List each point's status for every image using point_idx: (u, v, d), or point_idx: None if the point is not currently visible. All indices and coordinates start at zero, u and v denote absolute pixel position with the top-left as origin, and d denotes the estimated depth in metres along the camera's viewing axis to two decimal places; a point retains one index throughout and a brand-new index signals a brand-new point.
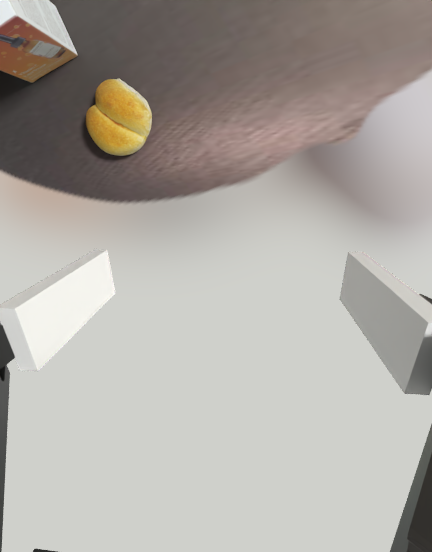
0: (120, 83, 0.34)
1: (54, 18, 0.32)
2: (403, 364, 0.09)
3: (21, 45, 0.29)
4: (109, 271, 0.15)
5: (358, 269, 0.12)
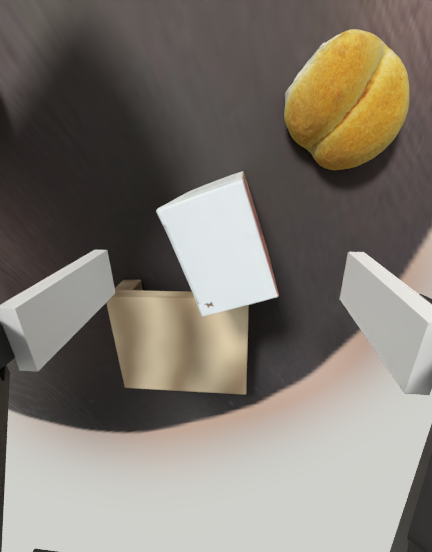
0: (299, 80, 0.19)
1: (207, 184, 0.23)
2: (403, 364, 0.09)
3: None
4: (109, 271, 0.15)
5: (358, 269, 0.12)
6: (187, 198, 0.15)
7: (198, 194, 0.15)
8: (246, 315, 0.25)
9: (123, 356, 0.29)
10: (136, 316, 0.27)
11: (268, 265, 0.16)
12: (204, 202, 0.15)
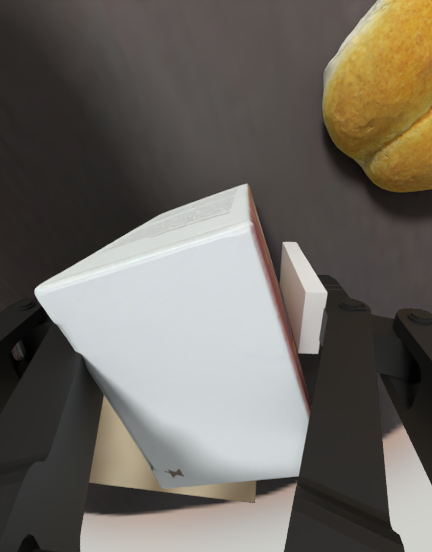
0: (353, 44, 0.11)
1: (186, 206, 0.13)
2: (298, 329, 0.11)
3: None
4: None
5: (285, 256, 0.14)
6: (106, 266, 0.06)
7: (133, 257, 0.06)
8: None
9: None
10: None
11: (308, 416, 0.07)
12: (149, 279, 0.06)
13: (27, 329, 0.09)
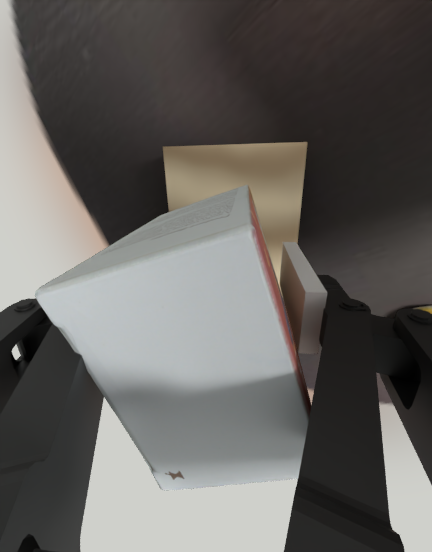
0: None
1: (186, 207, 0.13)
2: (298, 329, 0.11)
3: None
4: None
5: (285, 256, 0.14)
6: (106, 269, 0.06)
7: (133, 260, 0.06)
8: None
9: (216, 153, 0.22)
10: (277, 180, 0.23)
11: None
12: (150, 282, 0.06)
13: (27, 329, 0.09)
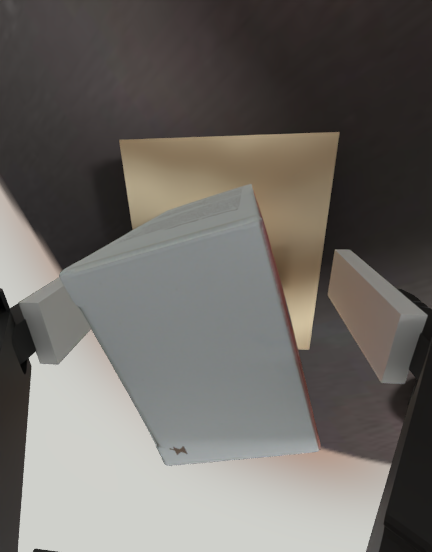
0: None
1: (193, 203, 0.14)
2: (380, 355, 0.09)
3: None
4: None
5: (343, 266, 0.13)
6: (127, 253, 0.07)
7: (152, 246, 0.06)
8: None
9: (199, 149, 0.15)
10: (291, 190, 0.15)
11: (305, 397, 0.08)
12: (166, 266, 0.06)
13: None
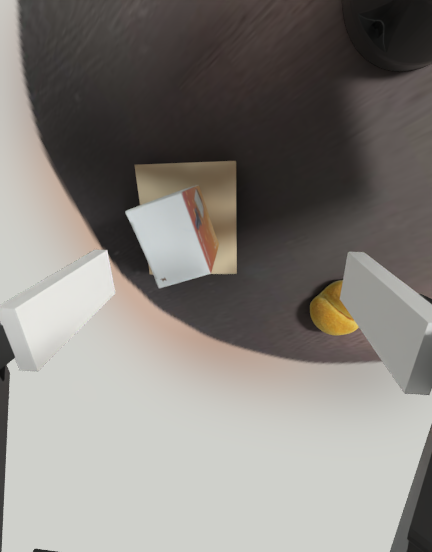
0: None
1: None
2: (403, 364, 0.09)
3: (199, 217, 0.26)
4: (109, 271, 0.15)
5: (358, 269, 0.12)
6: (145, 204, 0.23)
7: (153, 201, 0.23)
8: (223, 272, 0.36)
9: (173, 169, 0.31)
10: (217, 187, 0.32)
11: (202, 251, 0.24)
12: (157, 207, 0.23)
13: None
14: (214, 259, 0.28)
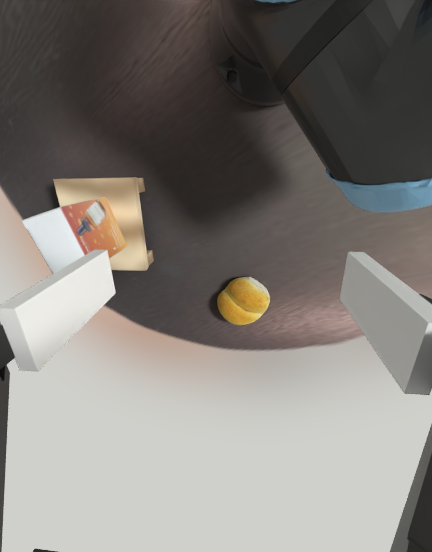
0: (252, 284, 0.44)
1: None
2: (403, 364, 0.09)
3: (89, 224, 0.33)
4: (109, 271, 0.15)
5: (358, 269, 0.12)
6: (36, 215, 0.30)
7: (41, 213, 0.30)
8: (135, 269, 0.43)
9: (84, 183, 0.38)
10: (121, 199, 0.39)
11: (83, 252, 0.31)
12: (44, 217, 0.30)
13: None
14: None
